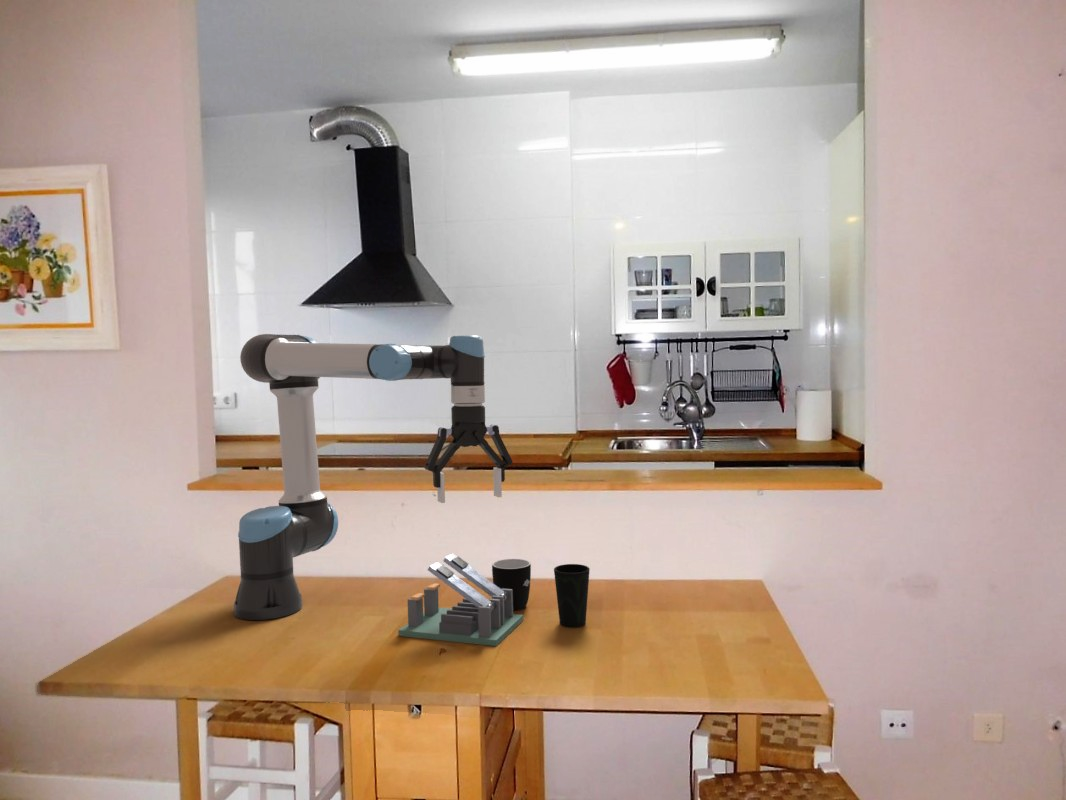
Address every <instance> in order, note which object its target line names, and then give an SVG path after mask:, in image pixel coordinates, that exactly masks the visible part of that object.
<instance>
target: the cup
mask: <svg viewBox="0 0 1066 800" xmlns="http://www.w3.org/2000/svg"><path fill="white" fill-rule="evenodd" d="M590 569H591V568H589V566H587V565H585V564H584V565H583V564H577V563H567V564H566V563H565V564H560V565H557V566H555V567H554V568H553V572H554V574H553V575H554V582H555V583H554V584H555V590H556V600H557V608H558V610H557V611H558V619H559V625H561V627H565V628H568V629H569V628H571V629H574V628H581V627H584V626H585V625H586V624H587V623H586V622H587V611H588V595H589V582H590Z"/></svg>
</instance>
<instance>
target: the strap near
mask: <svg viewBox="0 0 1066 800" xmlns="http://www.w3.org/2000/svg"><path fill="white" fill-rule="evenodd" d="M427 571H428V572H430V573H431V574H432V575H433V576H435V577H436V578H437V579H439V580H440V581H442V582H443V583H444V584H446V585H447V586H449V587H450V588H451V589H452V590H453V591H455V592H456V593H458V594H459V595H460V596H462V597H463V599H464V598H466V599H467V600H468V601H470V602H471V603H472V604H474V605H475V606H476V607H479V606H485V607H491V611H493V610H494V609H495V608H496V604H495V602H491V601H490V600H488V599H489V598H487V597H486V596H484V595H483V594H482V593H480V592H479V591H478V590H476V589H475V588H473V587H472V585H469V584H468V583H467V582H465V581H464V580H462V579H461V578H460V577H459V576H458V575H456V574H455V572H454V571H452V570H451V569H450V568H449V567H447V566H446V565H444V564H441V563H440V562H438V561H436V562H434V563H433V564H431V565H429V567H428V568H427Z"/></svg>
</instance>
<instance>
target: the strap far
mask: <svg viewBox="0 0 1066 800" xmlns="http://www.w3.org/2000/svg"><path fill="white" fill-rule="evenodd" d="M443 563H445V564H447V565H448V566H449V567H451V568H452V569H453V570H455V571H456V572H457V573H458V574H460V575H461V576H463V577H464V578H465V579H467V580H468V581H470V582H471V583H472V584H474V585H475V587H478V589H481V591H483V592H484V593H486V594H487V595H488V596H490V597H491V598H492V596H493V595H495V596H504V601H505V600H506V599H507V598H508V597H509V594H508V592H506V591H503V590H502V589H500V588H499V587H497V586H496V585H495V584H493V581H491V580H489V579H488V578H487V577H485V576H484V575H482V574H481V573H479V571H477V570H475V569H474V568H473V567H471V566H470V565H469V563H468V562H467V561H465V560H464V559H463V558H461V557H460V556H459V555H458V556H457V555H455V554H454V553H450V554H449V555H446V556H444V559H443Z"/></svg>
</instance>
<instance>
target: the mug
mask: <svg viewBox="0 0 1066 800" xmlns="http://www.w3.org/2000/svg"><path fill="white" fill-rule="evenodd" d="M531 566H532V564H531V562H530V561H529V560H527V559H523V558H522V559H521V558H504V559H499V560H496V561H493V563H492V564H491V568H492V569H491V572H492V576H491V577H492V583H493V584H495V585H496V586H497V587H499V588H500V589H513V612H515V611H520V610H523V609H525V608H526V607H527V605H528V602H529V597H530V590H531V577H532V576H531V572H532V567H531Z"/></svg>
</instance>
